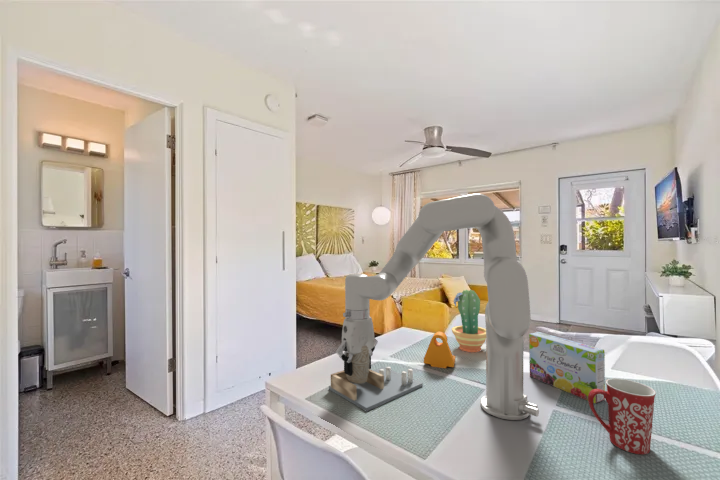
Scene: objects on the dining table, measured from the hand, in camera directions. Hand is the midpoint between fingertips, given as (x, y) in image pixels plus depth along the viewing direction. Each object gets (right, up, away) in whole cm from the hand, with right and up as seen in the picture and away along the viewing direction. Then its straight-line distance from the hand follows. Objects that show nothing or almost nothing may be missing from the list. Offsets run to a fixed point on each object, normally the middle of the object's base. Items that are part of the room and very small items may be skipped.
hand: (357, 370), depth 105 cm
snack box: (+65, -6, +2) cm, 66 cm away
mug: (+61, -7, -27) cm, 67 cm away
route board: (+6, -6, +2) cm, 9 cm away
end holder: (0, -5, 0) cm, 5 cm away
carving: (0, -3, 0) cm, 3 cm away
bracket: (+31, -6, +22) cm, 39 cm away
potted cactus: (+48, -6, +39) cm, 62 cm away
